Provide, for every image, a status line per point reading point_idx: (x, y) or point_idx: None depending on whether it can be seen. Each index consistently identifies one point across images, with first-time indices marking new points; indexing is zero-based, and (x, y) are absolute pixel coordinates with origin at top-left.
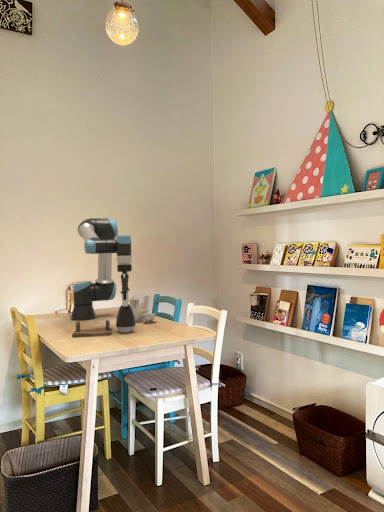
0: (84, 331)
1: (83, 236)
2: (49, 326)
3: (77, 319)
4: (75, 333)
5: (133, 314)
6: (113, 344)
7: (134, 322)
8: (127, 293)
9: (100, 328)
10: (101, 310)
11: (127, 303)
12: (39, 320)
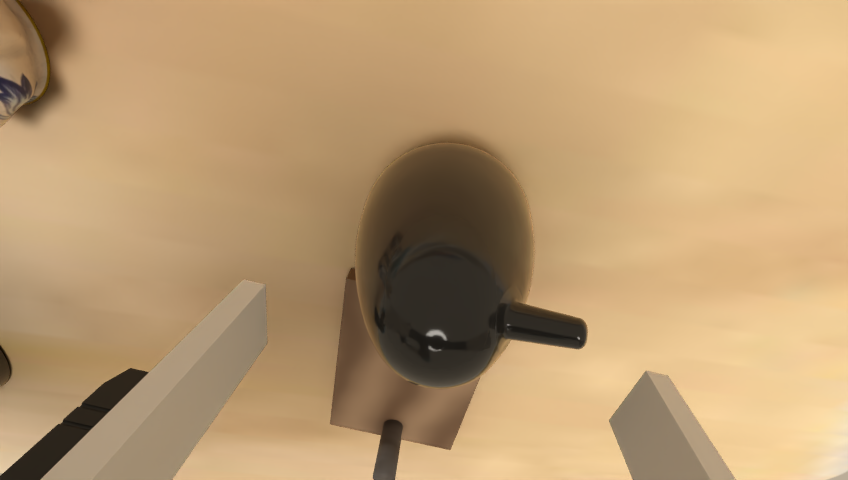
0: (403, 406)
1: None
2: None
3: (5, 375)
4: (435, 438)
5: (488, 201)
6: (757, 328)
7: (503, 170)
8: (135, 449)
9: (348, 338)
10: None
11: (690, 413)
12: None
